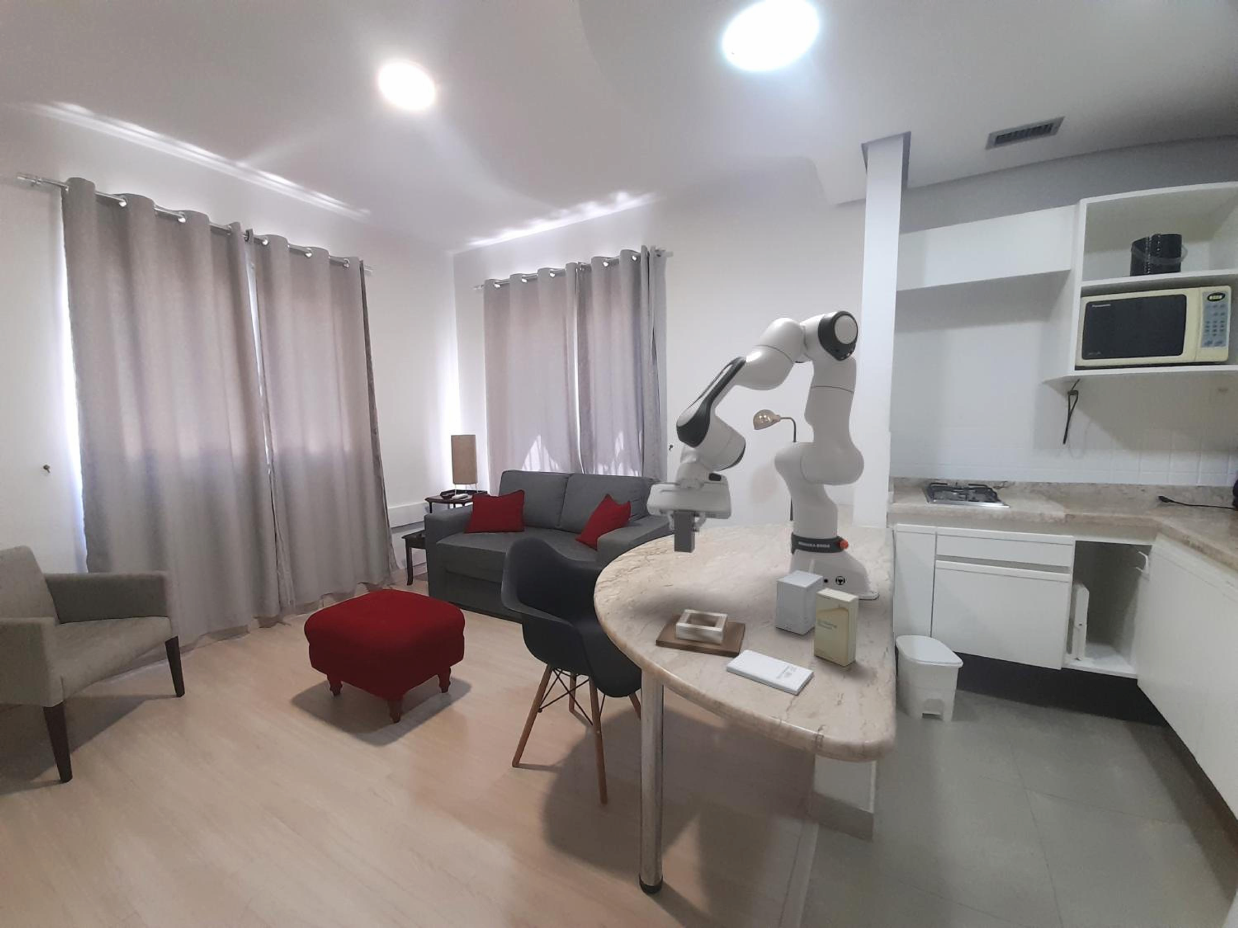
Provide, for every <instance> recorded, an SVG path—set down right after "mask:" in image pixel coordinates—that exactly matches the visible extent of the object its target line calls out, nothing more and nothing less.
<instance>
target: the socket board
mask: <svg viewBox="0 0 1238 928" xmlns="http://www.w3.org/2000/svg"><path fill="white" fill-rule="evenodd" d="M745 631H746V623H743V622H737V621H729V620H728V614H727V613H718V612H712V611H702V610H696V609H688V608H687V609H686V608H685V609H684V610H683V613H682V614H674V613H673V614H671V615H670V617H669V619H668V620H667V622H666V623H665V625H664V626H663V628H662V630H661V631H660V633H659V634H658V636H657V638H656V639H655V645H656V646H660V647H666V648H673V649H680V650H685V651H691V652H692V651H693V652H700V653H706V654H712V655H713V654H714V655H719V656H724V657H730V658H731V657H732V658H733V657H734V658H736V657H737V656H739V655H740V654H741V649H742V644H743V639H744V635H745Z"/></svg>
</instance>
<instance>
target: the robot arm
mask: <svg viewBox="0 0 1238 928" xmlns="http://www.w3.org/2000/svg"><path fill="white" fill-rule="evenodd" d="M858 337H859V326H858V322H857V320H856V318H855V317H854V316H853V314H851V313H850V312H849V311H846V310H833V311H829V312H826V313H823V314H819V315H814V316H812V317H810V318H808V319H805V320H804V321H800V323H799V322H798V321H797V320H795V319H792V318H788V317H782V318H777V319H776V320H774V321H772V323H771V324H769V326H768V327H767V328H766V329H765V330H764V331H763V333H762V334H761V335H760V337H759V338H758V339H757V341H756V343H755V344H754V345H753V347H752V348H751V351H750V352H749V353H748V354H747V355H746V356H738V357H736V358H735V357H734V359H732V360H731V361H730V362H728V363H727V364H726V365H725V366H724V367H723V368H722V369H721V371H720V372H718V373H717V375H716V376H715V378H714V379H713V380H712V381H711V382H710V383H709V385H707V387H706V388H705V389H704V390H703V391H702V393H701V394H700V395H699V396H698V398H696V399H695V401H694V402H692V403H691V404H690V405H689V406H688V407H687V408H686V409H685V410H684V411H683V412H682V413H681V415H680V416H679V417H678V419H677V421H676V424H675V425H676V426H675V427H676V428H675V430H676V434H677V439H678V441H680V442H681V443H683V446H682V450H681V453H680V459H679V462H680V464H679V466H678V468H677V472H676V476H675V481H671V482H670V481H669V482H668V481H667V482H665V481H658V482H657V483H655V484H653V485H651V488H650V492H649V493H650V494H649V496H648V499H647V502H646V508H647V511H648V513H649V514H650V515H652V516H665V517H667V518H668V521H669V526H668V527H669V530H670V531H674V513H675V512H676V511H678V510H683V511H695V519H696V518H697V519H698V518H699V519H698V520H697V521H695V522H693V526H692V530H693V532H695V533H700V531H701V527H702V526H703V525H704V524H705V523H706V522H707V519H711V520H712V519H713V520H714V519H715V520H729V519H730V518H731V517H732V510H733V509H732V497H731V492H730V489H729V488H730V485H729V481H728V478H727V476H726V475H724V474H720V473H717V472H722V471H725V470H728V469H732V468H733V467H735V466H737V465H738V464H739V463H741V461H742V459H743V457H744V456H745V452H746V446H747V441H746V438H745V437H744V436H743V435H742V434H741V433H740V432H738V431H737V430H736V429H734V427H732V426H730V425H729V424H727V422H726V421H724V420H723V419H722V418H720V417H719V416H717V413H716V408H717V407H718V406H719V404H720V403H721V402H723V399H724V398H725V397H726V396H727V395H728V394H729V392H730V391H731V390H732V389H733V388H734V387H735V386H740V387H744V388H747V389H750V390H755V391H770V390H774V389H776V388H778V387H780V386H781V385H782V384H783V383H784V382H785V381H786V379H787V377H788V376H789V375H790V373H791V371H792V369H793V367H794V366H795V364H803V363H806V362H812V365H813V375H812V378H811V383H810V385H809V390H808V393H807V394H808V395H807V399H806V404H805V409H804V414H803V416H804V419H805V422H806V423H807V424H808V425H809V426H810V427H811V428H812V432H813V441H796V442H791V443H788V444H787V443H786V444H784V445H782V446H781V447H779V448H778V449H777V451H776V452H775V456H774V468H775V470H776V473H778V474H779V475H780V476H781V478H782V479H783V481H784V482H785V484H786V487H787V489H788V492H789V496H790V500H791V504H792V532H791V534H790V542H789V543H790V548H789V549H790V553H791V557H790V564H789V565H790V566H789V569H788V573H787V575H789V574H791V573H793V572H794V571H796V570H799V571H803V572H808V573H812V574H816V575H821V576H823V589H825V588H829V589H833V590H837V591H841V592H845V593H848V594H852V595H856V596H859V600H875V599H877V598H878V596H879V589H878V587H877V586H876V585H875V584H874V583H873V582H871V581H869V575H868V571H867V569H866V568H865V566H864V564H862V563H861V562H860V561H859V560H858V559H856V558H855V557H854V556H853V555H852V554H850V553H849V552H848V551H847V549H849V547H850V544H849V542H848V540H846V538H843V537H842V536H840V535H839V534H838V520H839V519H838V516H839V515H838V514H839V513H838V511H839V510H838V507H837V504H836V503H835V502H834V501H833V500H832V499H831V498H830V497H829V495H828V494H827V491H826V489H825V486H824V485H827V486H845V485H851V484H855V483H856V482H857V481H858V480H859V479H860V478H861V476H862V474H863V472H864V470H865V460H864V457H863V454H862V452H861V451H860V450H859V449H858V447H857V446H855V443H854V442H853V440H852V437H851V433H850V416H851V410H852V406H853V400H854V395H855V390H856V384H857V371H858V370H857V360H856V358H855V357H854V356H853V353H854V351H855V350H856V347H857V342H858Z"/></svg>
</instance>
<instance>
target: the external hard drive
mask: <svg viewBox="0 0 1238 928" xmlns="http://www.w3.org/2000/svg"><path fill="white" fill-rule="evenodd" d="M726 671H727V672H729V673H733V674H736V675H739V676H742V677H745V678H747V679H750V680H753V681H756V682H758V683H762V684H764V685H767V686H769V687H772V688H775V689H778V690H780V691H784V692H786V693H789V694H792V695H795V696H798V694H799V693H800V692H801V691H802V690H803V689H804V687H805V685H806V684H808V683H809V681H810V680H811V679H812V678H813V676H814V674H815V673H814V670H811V669H808V668H805V667H802V666H798V665H796V664H792V663H790V662H787V661H784V660H780V659H778V658H775V657H771V656H768V655H766V654H762V653H759V652H756V651H753V650H750V649H745V650H743V651H742V652H740V653H739V656H737V657H734V659H733V660H731V661H730V662H729V663H727V665H726Z"/></svg>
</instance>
